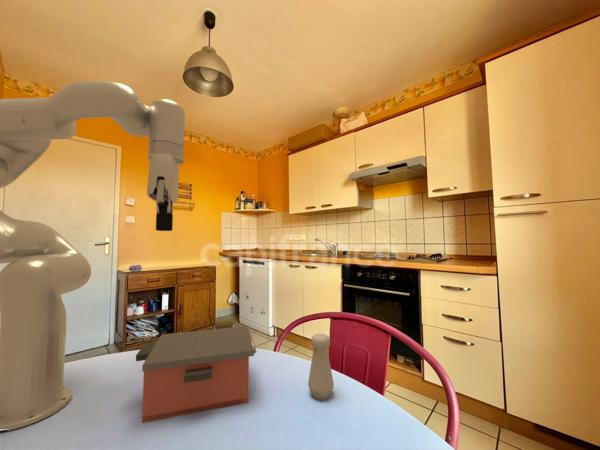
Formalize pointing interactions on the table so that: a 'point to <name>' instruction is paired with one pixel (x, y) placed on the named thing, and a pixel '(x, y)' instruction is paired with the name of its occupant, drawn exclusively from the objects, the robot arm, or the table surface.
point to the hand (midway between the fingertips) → (164, 230)
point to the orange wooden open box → (194, 388)
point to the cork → (223, 323)
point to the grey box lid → (197, 348)
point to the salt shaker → (320, 368)
